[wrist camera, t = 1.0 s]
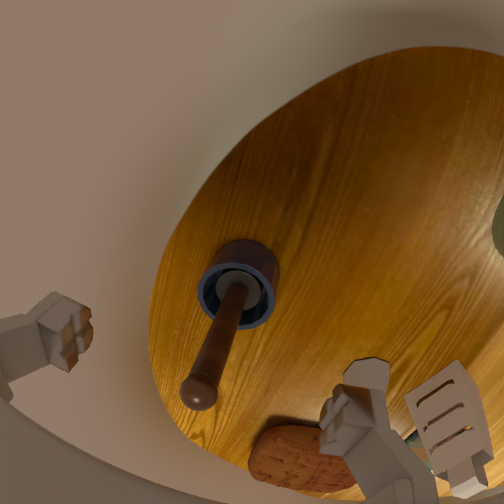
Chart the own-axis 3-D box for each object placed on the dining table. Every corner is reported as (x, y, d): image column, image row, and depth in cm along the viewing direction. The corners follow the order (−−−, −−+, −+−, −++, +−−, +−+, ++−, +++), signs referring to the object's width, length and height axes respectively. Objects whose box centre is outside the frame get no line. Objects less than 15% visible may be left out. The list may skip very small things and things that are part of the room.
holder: (203, 248, 35) (186, 271, 30) (268, 232, 33) (261, 254, 28) (225, 304, 38) (213, 334, 32) (286, 293, 36) (283, 323, 30)
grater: (429, 417, 42) (449, 509, 24) (403, 396, 40) (423, 504, 22) (476, 384, 38) (511, 476, 20) (456, 358, 36) (499, 465, 18)
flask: (349, 355, 38) (355, 412, 29) (397, 357, 37) (412, 411, 28) (337, 389, 41) (339, 443, 32) (381, 391, 40) (390, 443, 31)
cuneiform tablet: (385, 429, 44) (390, 465, 37) (342, 468, 52) (342, 498, 44) (271, 408, 45) (264, 448, 38) (244, 450, 52) (237, 483, 45)
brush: (218, 259, 35) (146, 382, 18) (258, 250, 34) (213, 380, 16) (231, 295, 36) (178, 426, 19) (270, 287, 35) (239, 427, 18)
